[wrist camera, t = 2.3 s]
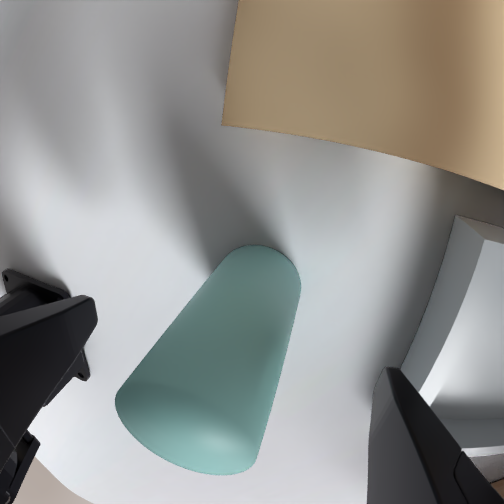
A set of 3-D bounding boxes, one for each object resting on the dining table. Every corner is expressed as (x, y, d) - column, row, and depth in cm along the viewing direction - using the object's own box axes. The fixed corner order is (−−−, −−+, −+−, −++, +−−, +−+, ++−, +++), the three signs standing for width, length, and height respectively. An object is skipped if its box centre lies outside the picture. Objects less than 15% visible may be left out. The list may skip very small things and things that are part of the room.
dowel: (216, 311, 13) (129, 446, 7) (219, 237, 12) (101, 359, 5) (293, 328, 12) (249, 486, 6) (307, 253, 11) (266, 412, 5)
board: (245, 125, 10) (221, 125, 8) (269, -45, 8) (253, -79, 5) (510, 190, 9) (545, 207, 6) (524, 23, 6) (556, 9, 4)
